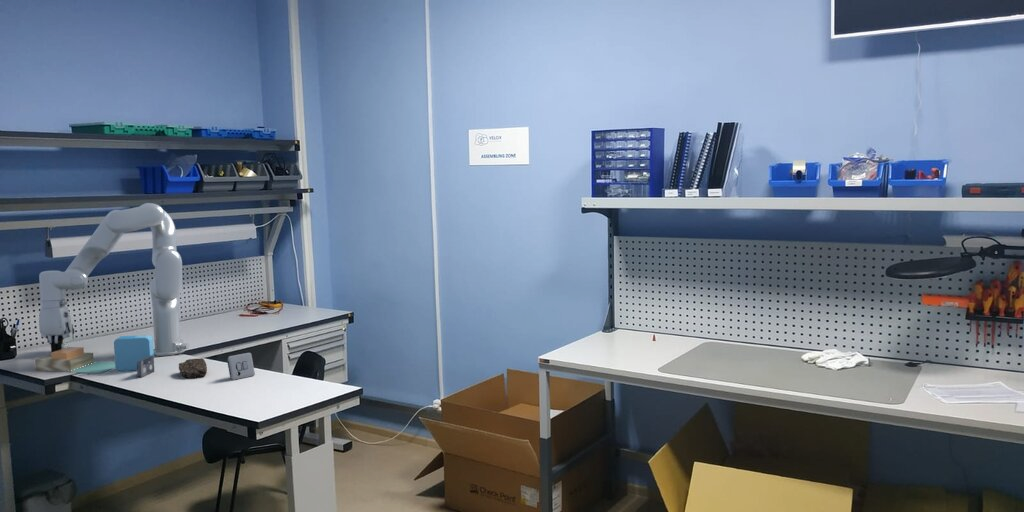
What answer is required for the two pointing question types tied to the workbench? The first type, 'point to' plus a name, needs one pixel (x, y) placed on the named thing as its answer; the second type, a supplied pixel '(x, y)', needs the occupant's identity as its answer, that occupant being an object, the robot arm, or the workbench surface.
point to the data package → (132, 351)
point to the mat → (95, 367)
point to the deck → (63, 362)
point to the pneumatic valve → (67, 339)
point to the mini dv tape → (145, 366)
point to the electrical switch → (240, 366)
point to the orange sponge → (67, 353)
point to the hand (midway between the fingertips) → (56, 353)
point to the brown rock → (193, 368)
